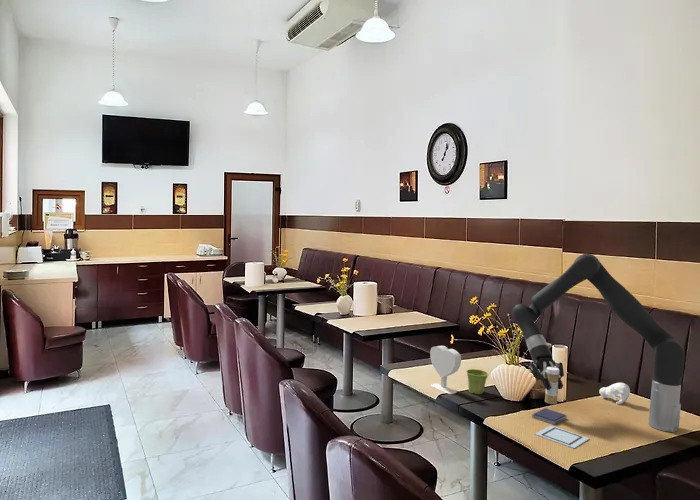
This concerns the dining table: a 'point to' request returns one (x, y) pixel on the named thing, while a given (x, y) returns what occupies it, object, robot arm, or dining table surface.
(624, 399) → the white bear figurine
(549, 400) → the sprinkles bottle
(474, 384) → the plant pot
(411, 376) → the dining table surface
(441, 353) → the heart sculpture
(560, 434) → the print card
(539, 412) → the ink pad
